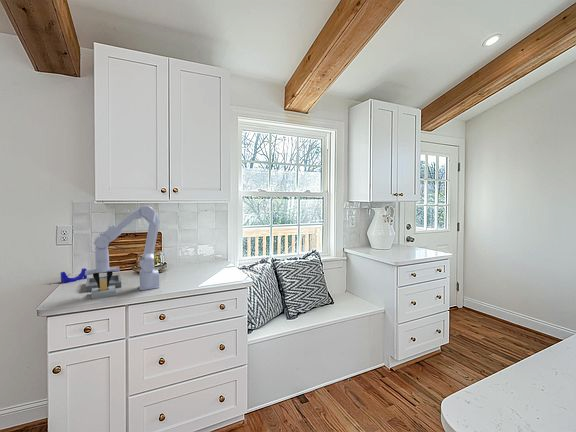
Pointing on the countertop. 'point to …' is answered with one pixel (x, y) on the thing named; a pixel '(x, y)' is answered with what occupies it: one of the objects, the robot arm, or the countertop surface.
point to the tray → (92, 282)
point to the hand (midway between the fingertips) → (103, 287)
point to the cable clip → (67, 280)
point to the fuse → (103, 284)
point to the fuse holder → (103, 292)
